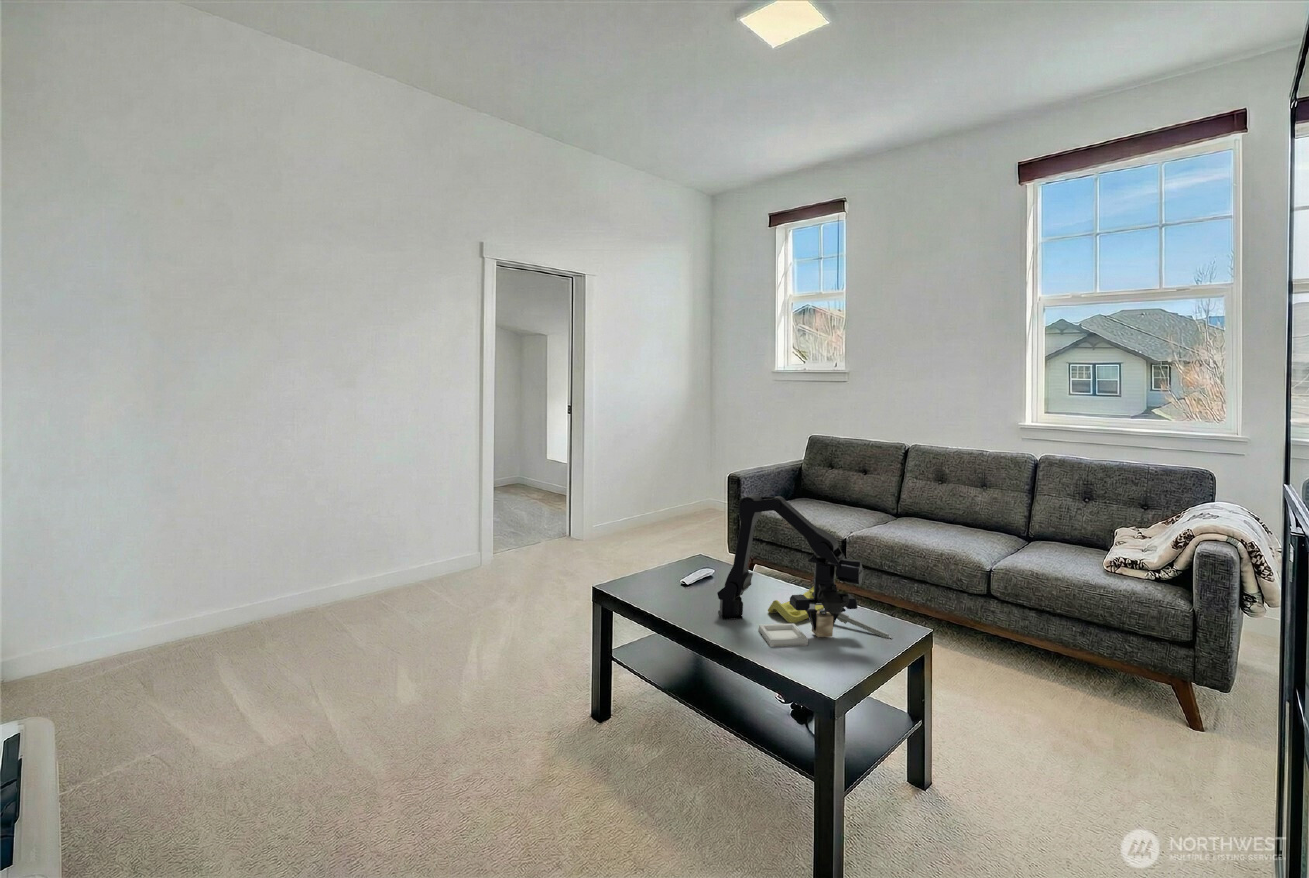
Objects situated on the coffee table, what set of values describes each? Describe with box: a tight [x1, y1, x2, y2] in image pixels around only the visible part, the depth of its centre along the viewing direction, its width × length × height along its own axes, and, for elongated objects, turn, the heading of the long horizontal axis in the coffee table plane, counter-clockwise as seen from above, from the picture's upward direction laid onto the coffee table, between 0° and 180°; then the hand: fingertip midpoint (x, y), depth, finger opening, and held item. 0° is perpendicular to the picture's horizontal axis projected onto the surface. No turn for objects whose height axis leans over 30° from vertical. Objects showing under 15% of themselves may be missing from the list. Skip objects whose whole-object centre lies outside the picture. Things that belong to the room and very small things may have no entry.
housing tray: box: [758, 623, 809, 648], centre depth 174 cm, size 11×11×2 cm
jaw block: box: [811, 609, 834, 638], centre depth 175 cm, size 4×4×7 cm
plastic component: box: [767, 585, 825, 624], centre depth 194 cm, size 20×7×10 cm
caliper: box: [836, 612, 893, 639], centre depth 181 cm, size 20×1×6 cm, turn 54°
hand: (822, 630), depth 176 cm, fingers closed on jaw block, 4 cm apart
